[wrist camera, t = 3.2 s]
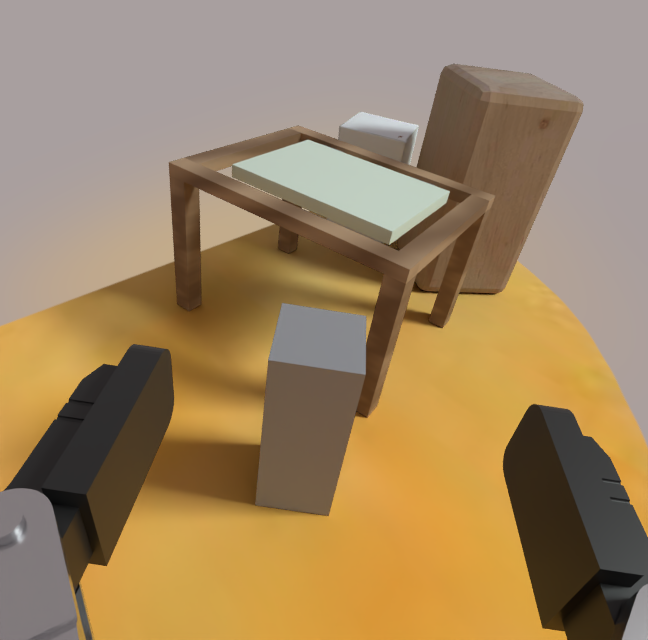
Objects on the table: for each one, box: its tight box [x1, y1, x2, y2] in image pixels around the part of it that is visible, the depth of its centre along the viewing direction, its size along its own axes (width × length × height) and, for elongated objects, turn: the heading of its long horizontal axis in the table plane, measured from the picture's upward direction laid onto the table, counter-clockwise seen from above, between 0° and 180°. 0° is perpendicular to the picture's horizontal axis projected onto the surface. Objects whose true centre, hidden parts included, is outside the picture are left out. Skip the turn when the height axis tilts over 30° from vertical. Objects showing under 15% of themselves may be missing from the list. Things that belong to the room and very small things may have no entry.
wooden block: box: [397, 64, 583, 293], centre depth 49 cm, size 10×10×20 cm
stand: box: [169, 126, 495, 417], centre depth 42 cm, size 20×16×13 cm
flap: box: [232, 140, 450, 245], centre depth 38 cm, size 14×10×1 cm
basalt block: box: [255, 303, 366, 516], centre depth 28 cm, size 4×4×12 cm
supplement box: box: [327, 112, 419, 244], centre depth 57 cm, size 7×7×13 cm
